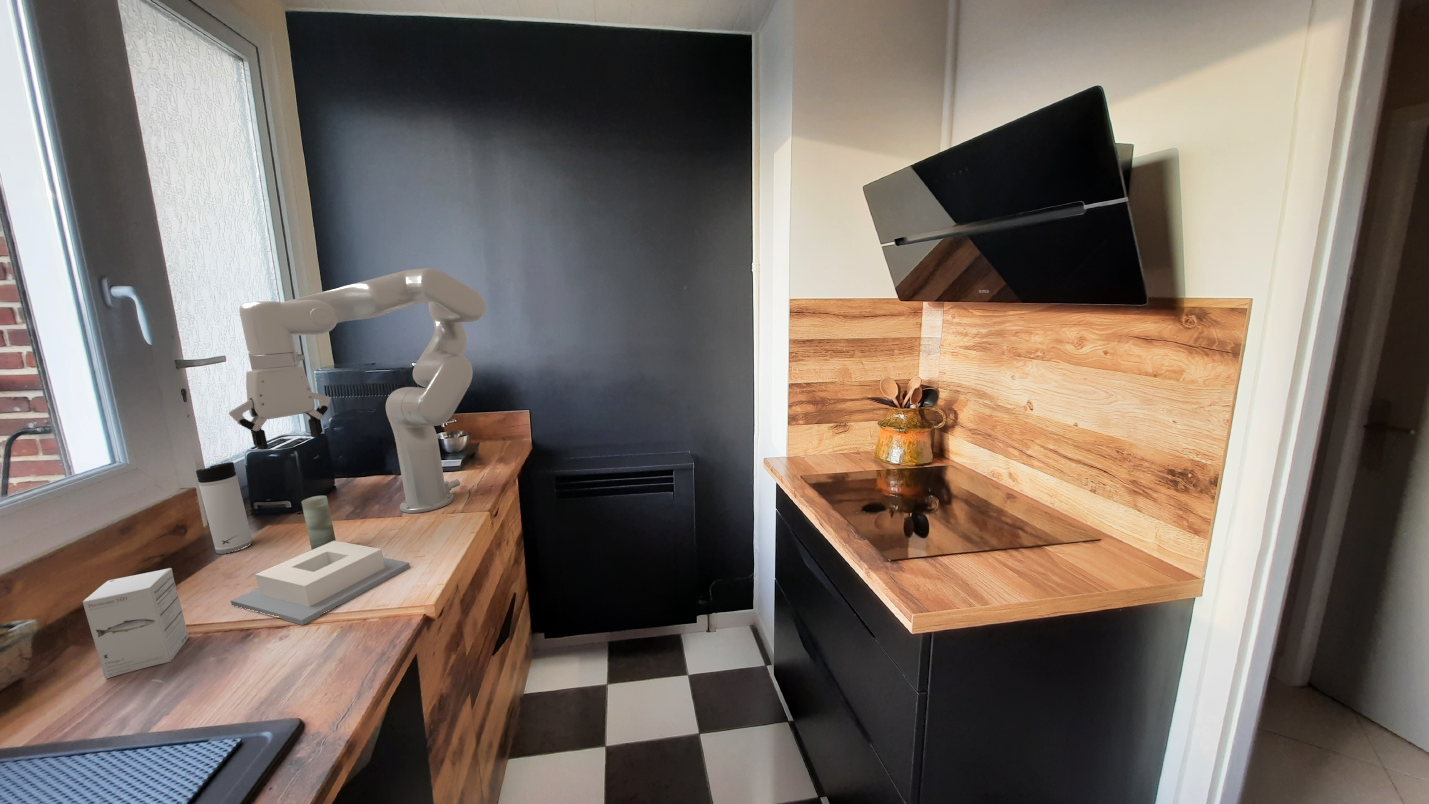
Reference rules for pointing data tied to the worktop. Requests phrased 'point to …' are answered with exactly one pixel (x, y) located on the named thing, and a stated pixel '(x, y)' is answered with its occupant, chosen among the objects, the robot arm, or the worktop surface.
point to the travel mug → (224, 507)
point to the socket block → (318, 581)
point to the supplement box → (136, 622)
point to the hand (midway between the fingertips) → (290, 442)
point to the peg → (318, 521)
